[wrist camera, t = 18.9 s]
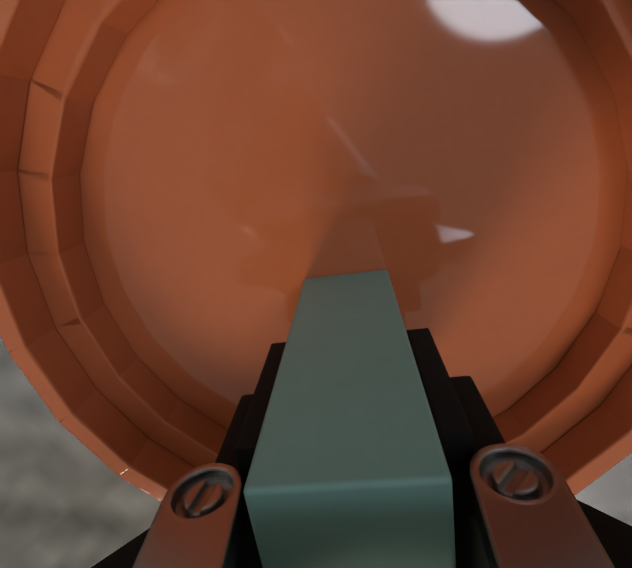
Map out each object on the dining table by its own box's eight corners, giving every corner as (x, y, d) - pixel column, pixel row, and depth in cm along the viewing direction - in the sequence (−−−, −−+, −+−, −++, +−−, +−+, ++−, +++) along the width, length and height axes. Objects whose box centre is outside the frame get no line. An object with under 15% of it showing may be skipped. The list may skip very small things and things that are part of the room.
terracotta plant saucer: (-58, -63, 11) (-203, -134, 8) (724, -242, 9) (907, -424, 6) (140, 492, 17) (98, 565, 14) (634, 461, 15) (703, 540, 12)
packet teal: (303, 277, 13) (240, 491, 5) (387, 268, 12) (453, 478, 5) (324, 407, 14) (299, 721, 6) (399, 400, 14) (464, 721, 6)
